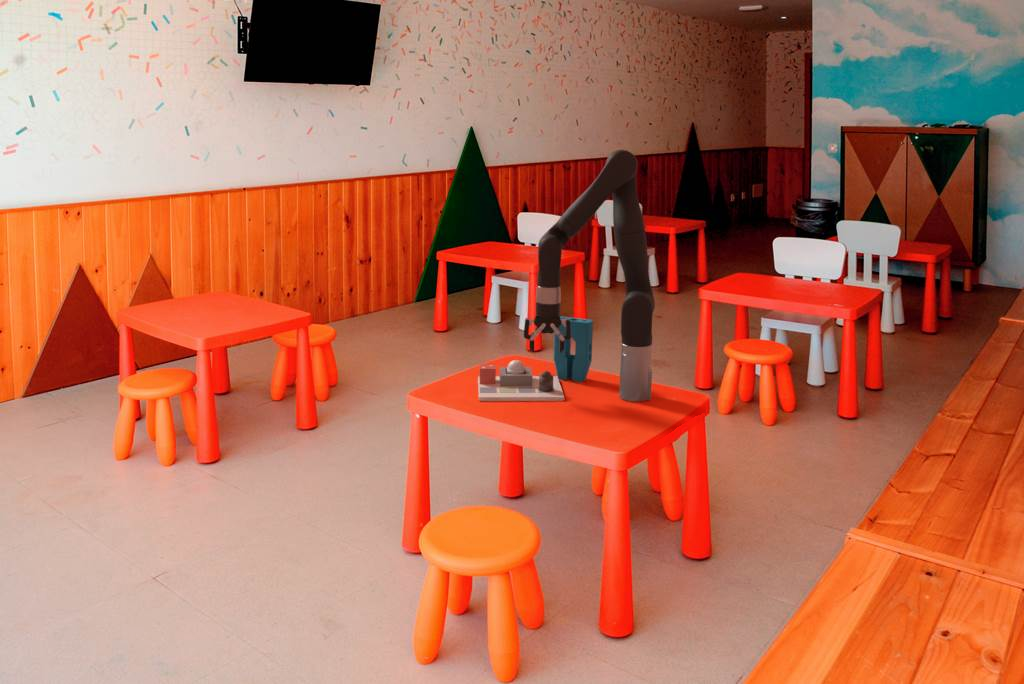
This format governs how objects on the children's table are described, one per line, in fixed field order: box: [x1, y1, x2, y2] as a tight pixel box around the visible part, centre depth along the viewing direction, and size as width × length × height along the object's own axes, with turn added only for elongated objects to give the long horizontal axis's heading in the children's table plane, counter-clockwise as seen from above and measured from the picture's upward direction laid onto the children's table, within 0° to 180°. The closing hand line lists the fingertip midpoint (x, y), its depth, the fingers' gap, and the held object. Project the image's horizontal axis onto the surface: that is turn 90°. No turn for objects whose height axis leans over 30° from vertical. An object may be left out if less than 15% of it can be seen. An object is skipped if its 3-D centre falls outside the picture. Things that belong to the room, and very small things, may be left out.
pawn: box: [538, 370, 554, 392], centre depth 281 cm, size 4×4×6 cm
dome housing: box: [498, 366, 533, 386], centre depth 290 cm, size 10×10×4 cm
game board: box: [477, 375, 565, 402], centre depth 286 cm, size 26×22×1 cm
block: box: [553, 315, 594, 383], centre depth 296 cm, size 12×5×20 cm, turn 66°
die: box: [479, 364, 497, 384], centre depth 289 cm, size 5×5×5 cm
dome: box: [506, 359, 525, 374], centre depth 289 cm, size 6×6×5 cm
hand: (546, 351), depth 279 cm, fingers open, 8 cm apart
